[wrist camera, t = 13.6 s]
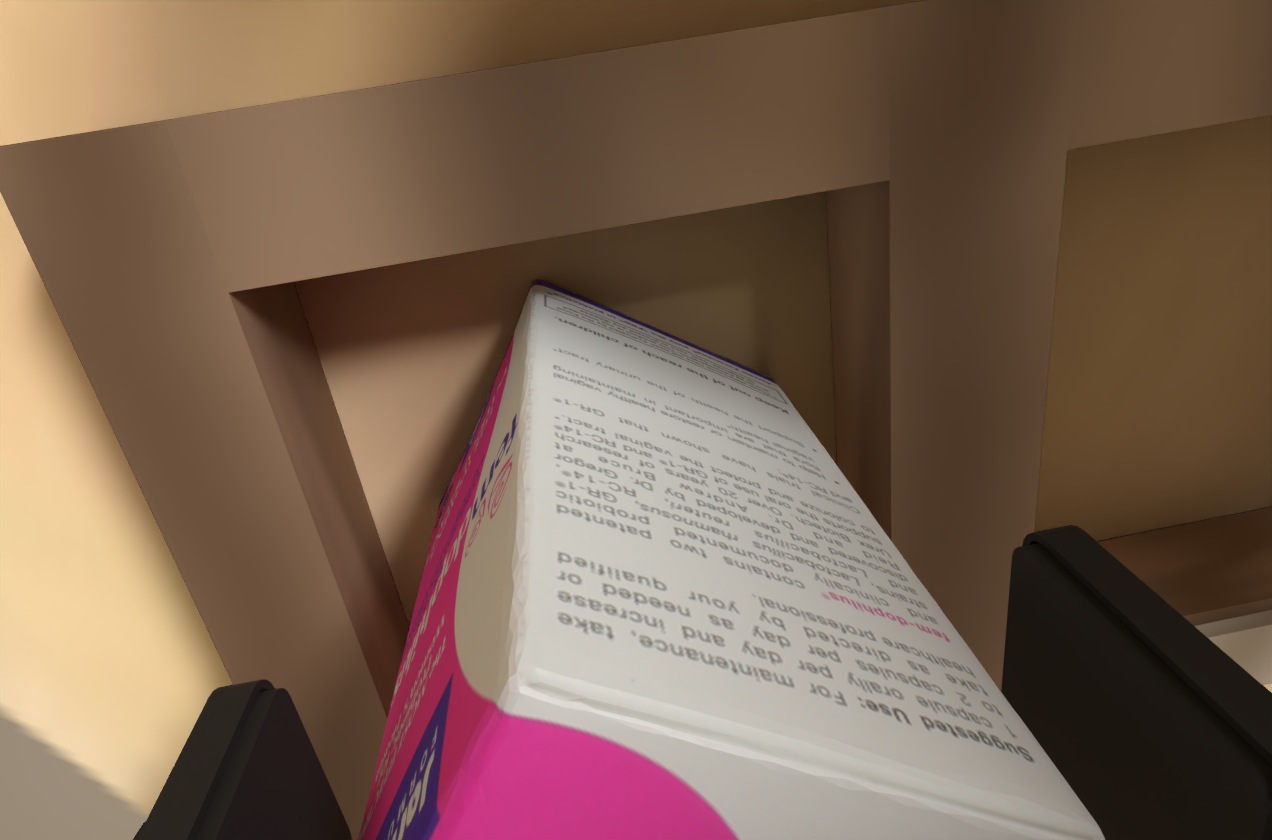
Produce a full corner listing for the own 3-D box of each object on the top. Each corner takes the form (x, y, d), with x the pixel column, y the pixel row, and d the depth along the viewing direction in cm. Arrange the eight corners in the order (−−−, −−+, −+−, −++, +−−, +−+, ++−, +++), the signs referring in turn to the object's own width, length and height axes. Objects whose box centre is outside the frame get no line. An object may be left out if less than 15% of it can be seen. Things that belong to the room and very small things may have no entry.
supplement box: (523, 267, 16) (517, 673, 5) (777, 375, 17) (1161, 847, 7) (424, 506, 17) (272, 1159, 7) (662, 583, 19) (825, 1202, 9)
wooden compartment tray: (1623, -109, 15) (1901, -154, 12) (1406, 553, 22) (1551, 633, 19) (89, 132, 14) (-39, 151, 11) (352, 769, 20) (320, 896, 17)
